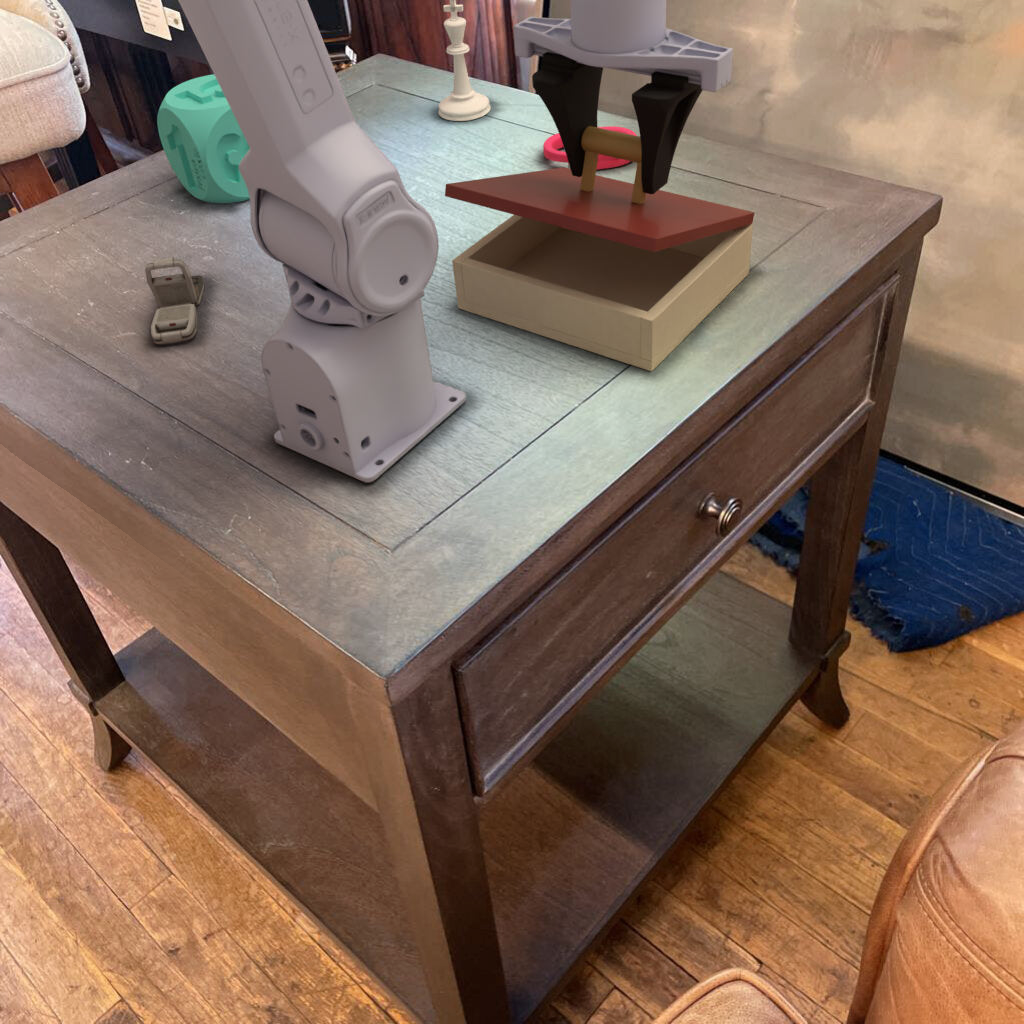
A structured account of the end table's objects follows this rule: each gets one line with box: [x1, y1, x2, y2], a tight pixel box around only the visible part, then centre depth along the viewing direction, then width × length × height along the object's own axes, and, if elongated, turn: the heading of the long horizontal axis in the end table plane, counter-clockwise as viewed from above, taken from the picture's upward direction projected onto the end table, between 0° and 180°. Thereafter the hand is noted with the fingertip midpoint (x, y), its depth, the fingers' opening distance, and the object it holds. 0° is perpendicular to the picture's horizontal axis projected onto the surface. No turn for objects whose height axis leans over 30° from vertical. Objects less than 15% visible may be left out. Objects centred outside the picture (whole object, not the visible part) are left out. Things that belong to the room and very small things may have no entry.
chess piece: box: [438, 0, 492, 122], centre depth 97 cm, size 5×5×10 cm
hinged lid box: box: [451, 214, 754, 372], centre depth 74 cm, size 14×16×4 cm
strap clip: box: [144, 257, 205, 345], centre depth 76 cm, size 8×3×4 cm, turn 7°
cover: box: [444, 126, 755, 252], centre depth 70 cm, size 14×16×5 cm
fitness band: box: [542, 125, 638, 171], centre depth 91 cm, size 8×6×2 cm
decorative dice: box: [156, 73, 250, 204], centre depth 90 cm, size 8×8×8 cm
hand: (619, 179), depth 72 cm, fingers closed on cover, 5 cm apart
